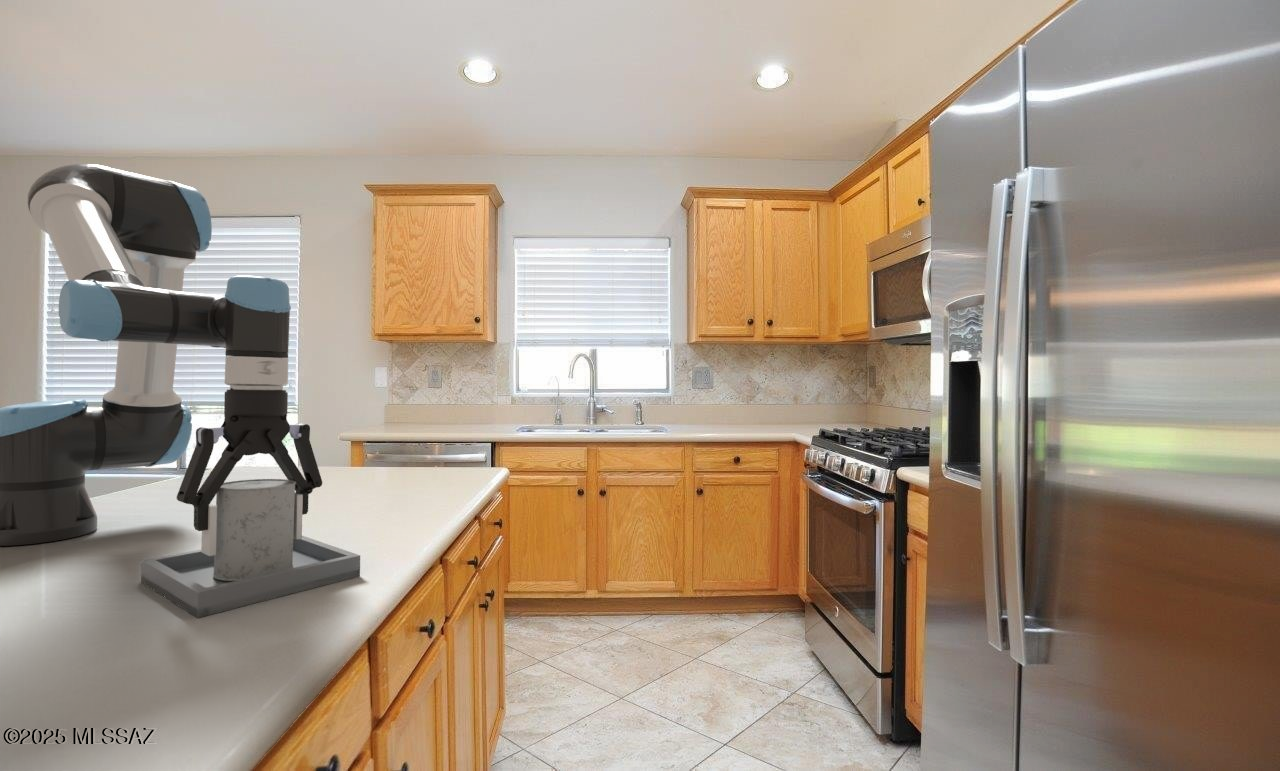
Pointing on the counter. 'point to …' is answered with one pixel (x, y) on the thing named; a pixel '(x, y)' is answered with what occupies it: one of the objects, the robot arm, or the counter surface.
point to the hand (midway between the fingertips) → (253, 545)
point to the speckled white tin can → (254, 528)
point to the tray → (204, 595)
